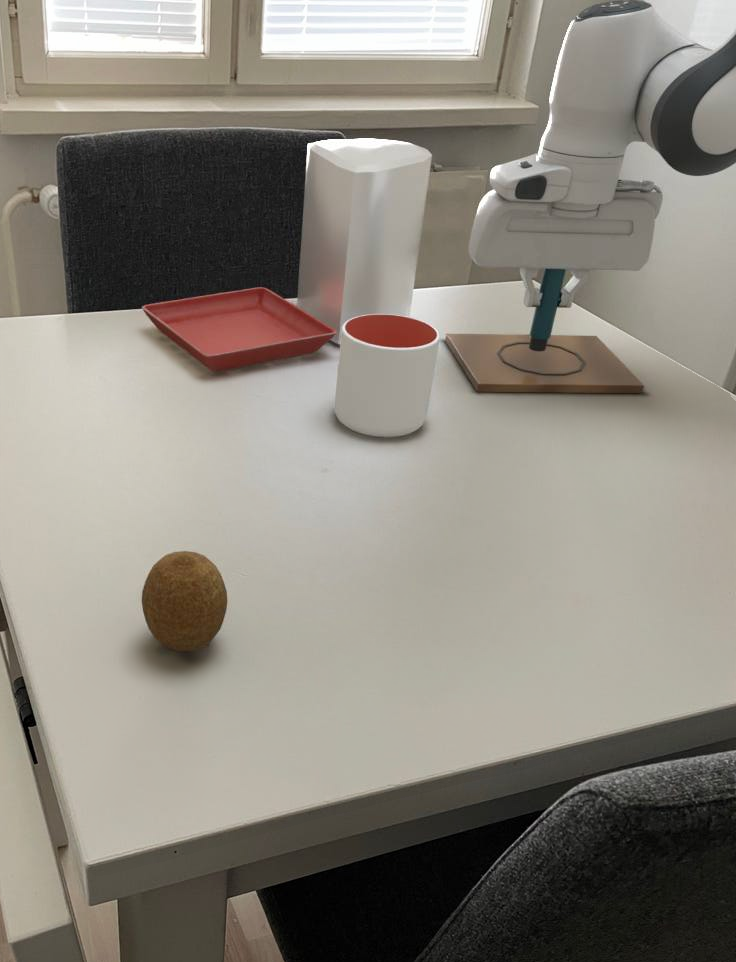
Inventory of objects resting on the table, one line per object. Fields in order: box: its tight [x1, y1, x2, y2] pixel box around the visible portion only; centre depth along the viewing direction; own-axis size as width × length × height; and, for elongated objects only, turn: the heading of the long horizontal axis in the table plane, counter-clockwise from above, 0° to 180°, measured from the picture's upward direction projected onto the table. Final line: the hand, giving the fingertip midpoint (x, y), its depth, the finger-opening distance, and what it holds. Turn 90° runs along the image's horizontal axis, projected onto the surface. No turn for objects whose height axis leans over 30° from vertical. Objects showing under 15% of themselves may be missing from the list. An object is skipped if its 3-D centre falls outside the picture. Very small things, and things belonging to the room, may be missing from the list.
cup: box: [333, 314, 441, 438], centre depth 104 cm, size 10×10×10 cm
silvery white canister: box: [296, 138, 433, 345], centre depth 124 cm, size 15×14×22 cm
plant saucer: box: [141, 286, 336, 373], centre depth 122 cm, size 18×18×3 cm
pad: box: [444, 333, 645, 394], centre depth 121 cm, size 20×16×1 cm
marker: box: [529, 269, 567, 351], centre depth 114 cm, size 2×2×13 cm
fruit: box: [141, 550, 229, 652], centre depth 72 cm, size 6×6×8 cm
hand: (546, 306), depth 115 cm, fingers closed on marker, 2 cm apart
